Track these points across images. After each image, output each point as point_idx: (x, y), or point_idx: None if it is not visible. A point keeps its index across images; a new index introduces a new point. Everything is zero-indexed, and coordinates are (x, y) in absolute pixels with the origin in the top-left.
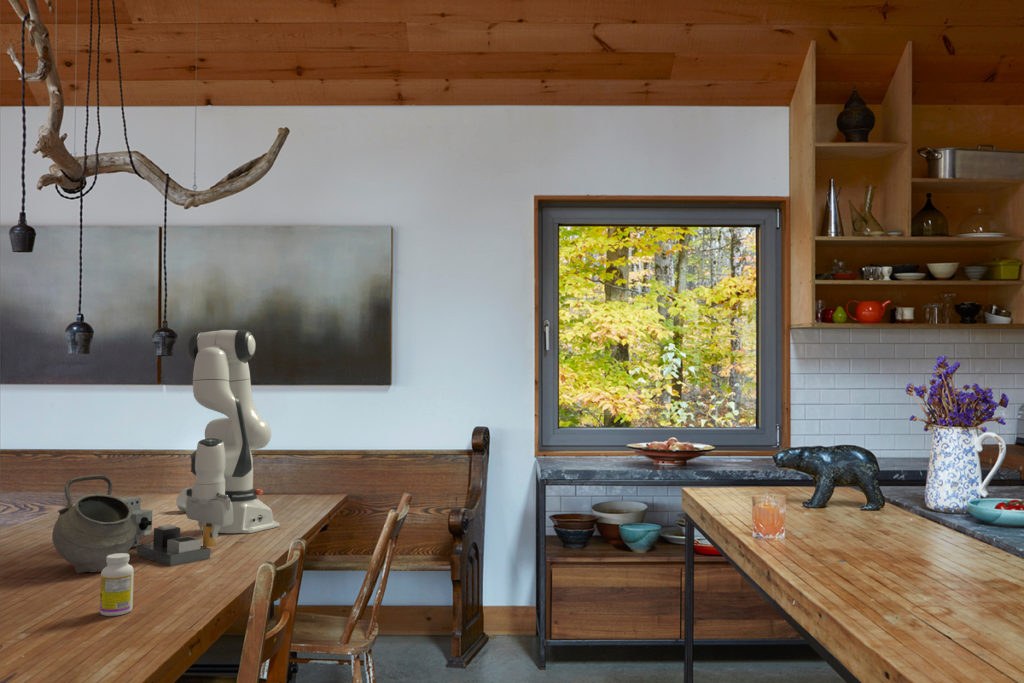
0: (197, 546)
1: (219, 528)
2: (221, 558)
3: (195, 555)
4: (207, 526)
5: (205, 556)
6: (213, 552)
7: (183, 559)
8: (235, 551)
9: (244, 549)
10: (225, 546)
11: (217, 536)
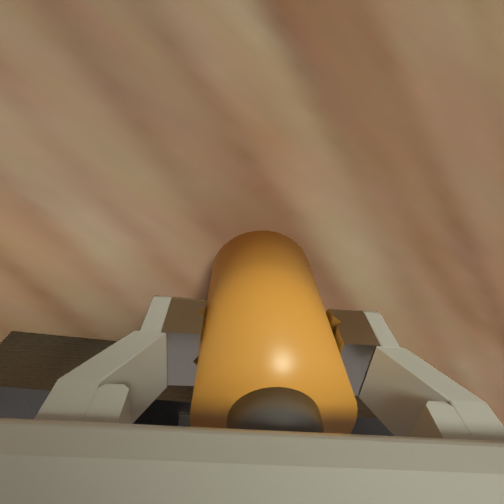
0: None
1: (453, 384)
2: (496, 338)
3: None
4: None
5: None
6: (329, 269)
7: None
8: (463, 160)
9: (495, 56)
10: (240, 69)
11: (381, 318)
